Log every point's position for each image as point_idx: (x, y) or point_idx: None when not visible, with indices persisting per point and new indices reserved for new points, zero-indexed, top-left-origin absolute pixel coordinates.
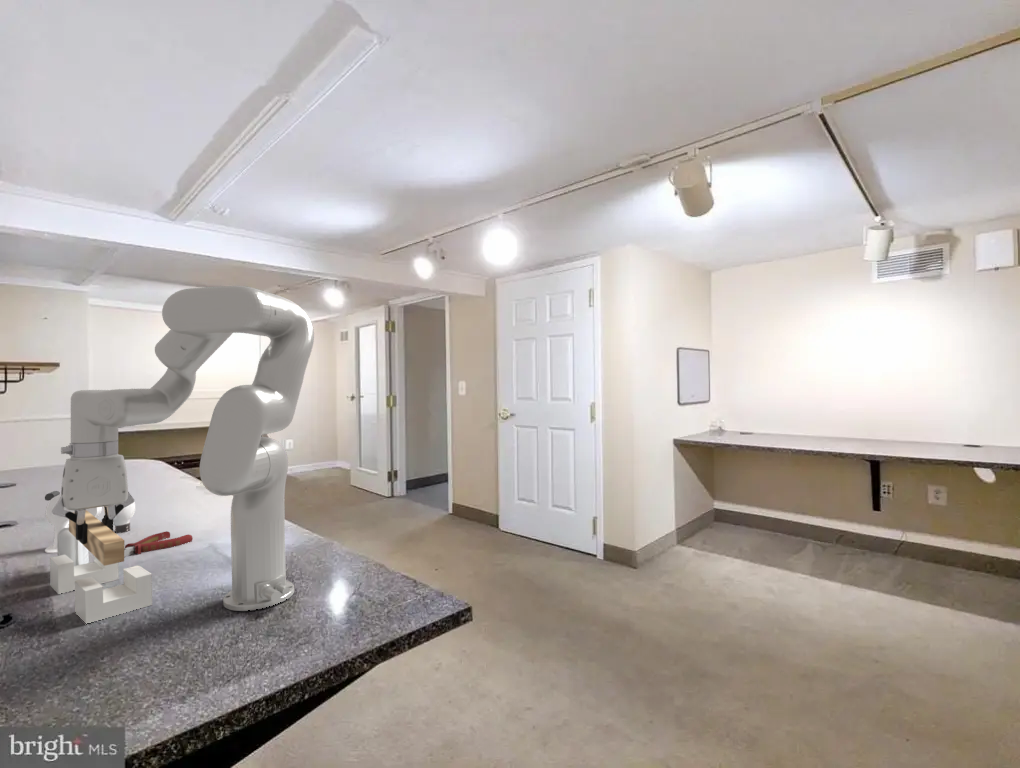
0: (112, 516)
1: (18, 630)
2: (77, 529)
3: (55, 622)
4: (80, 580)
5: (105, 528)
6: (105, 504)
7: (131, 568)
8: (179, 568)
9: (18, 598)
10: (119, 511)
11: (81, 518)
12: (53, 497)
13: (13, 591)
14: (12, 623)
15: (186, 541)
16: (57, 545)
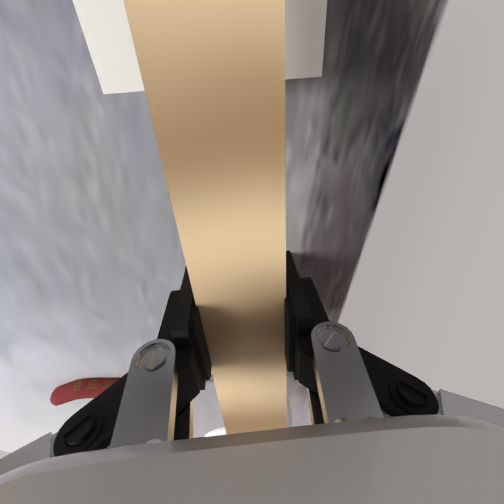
0: (152, 359)
1: (410, 56)
2: (323, 314)
3: (343, 34)
4: (306, 59)
5: (202, 255)
6: (173, 458)
7: (128, 63)
8: (52, 243)
9: (338, 282)
10: (101, 396)
11: (334, 358)
12: None
13: (332, 320)
14: (395, 132)
15: (63, 387)
16: (287, 392)
